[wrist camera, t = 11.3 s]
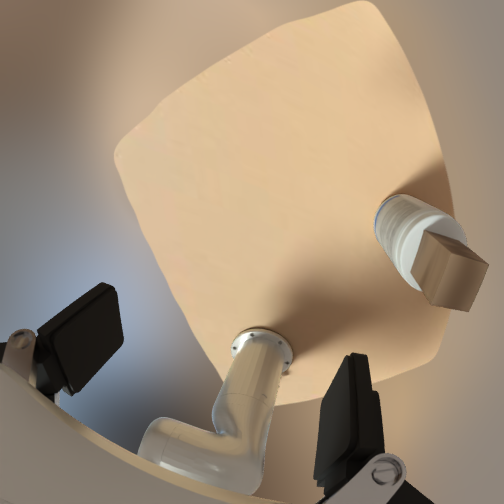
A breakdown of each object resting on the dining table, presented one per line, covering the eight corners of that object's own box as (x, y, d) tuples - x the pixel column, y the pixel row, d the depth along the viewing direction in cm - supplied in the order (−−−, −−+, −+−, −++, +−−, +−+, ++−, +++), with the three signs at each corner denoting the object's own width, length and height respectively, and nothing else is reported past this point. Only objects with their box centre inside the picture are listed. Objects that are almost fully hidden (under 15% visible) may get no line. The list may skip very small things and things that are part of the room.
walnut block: (458, 240, 23) (489, 264, 17) (444, 280, 25) (468, 311, 19) (423, 229, 24) (451, 253, 18) (409, 272, 26) (430, 304, 20)
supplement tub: (373, 253, 41) (395, 298, 28) (370, 194, 38) (396, 216, 25) (426, 248, 38) (463, 288, 25) (425, 191, 35) (471, 211, 22)
